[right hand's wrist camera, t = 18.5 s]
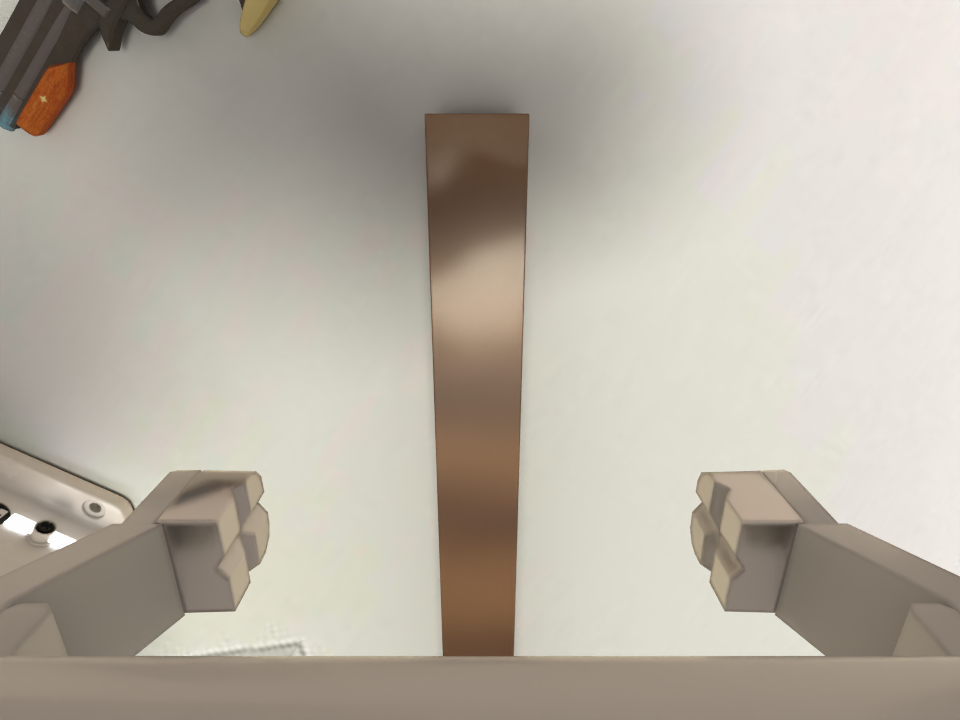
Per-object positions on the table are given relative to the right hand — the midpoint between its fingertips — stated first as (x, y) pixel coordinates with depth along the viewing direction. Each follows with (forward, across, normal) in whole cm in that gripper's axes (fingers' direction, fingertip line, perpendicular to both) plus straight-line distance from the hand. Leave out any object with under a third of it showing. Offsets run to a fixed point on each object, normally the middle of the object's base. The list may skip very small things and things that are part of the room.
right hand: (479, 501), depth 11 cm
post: (+28, 0, -26) cm, 38 cm away
